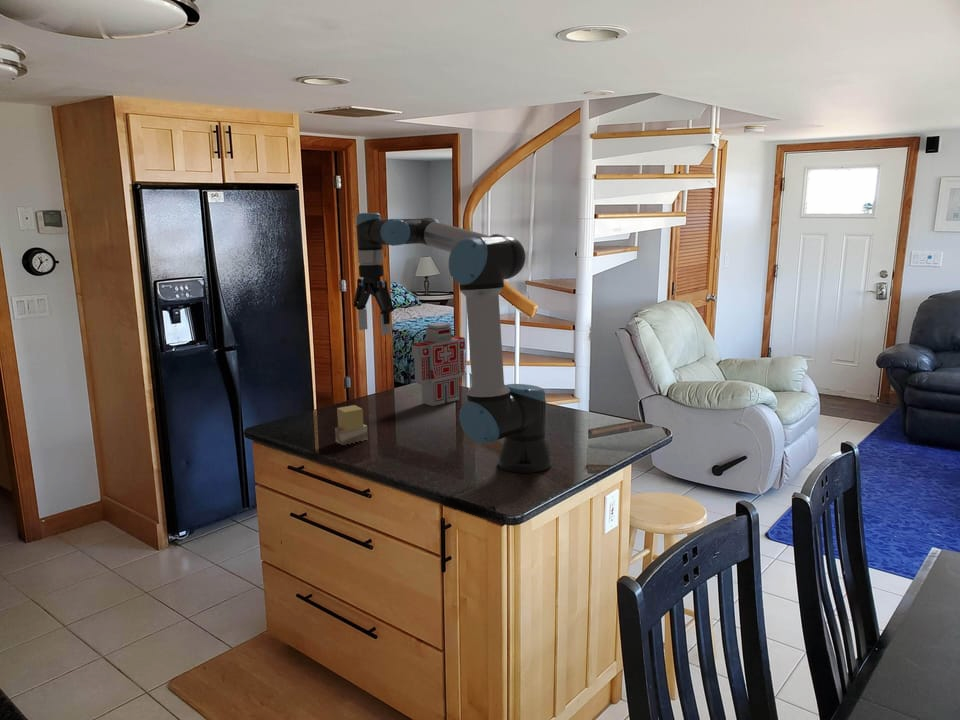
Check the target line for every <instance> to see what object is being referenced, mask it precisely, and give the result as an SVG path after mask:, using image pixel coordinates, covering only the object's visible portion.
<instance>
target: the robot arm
mask: <svg viewBox="0 0 960 720" xmlns="http://www.w3.org/2000/svg"><path fill="white" fill-rule="evenodd" d="M355 228H356V241H357V242H356V243H357V261H358V264H359V265H358V275H359V278H357V280H356V281H357V282H356V290H355V295H354V300H353V307H355V308H356V310H357V318H358V320H357V321H358V330H359V331H365V330H368V314H367V312H368V311H367V303H368V301H369V299H370V296H371V295H372V297H374V298H375V300H376V302H377V305H378V307H379V309H380V313H379V314H380V315H379V316H380V335H381V336H385V335H386V336H387V335H391V325H390V324H391V321H390V320H391V319H390V315H391V313H393V312H394V311H395V309H394V306H393V302H392V298H391V295H390V292H389V289H388V282H387V280H382V279H381V278H382V277H383V276H384V273H385V272H384V265H383V264H382V263H383V262H384V260H383V259H384V258H383V257H384V256H383V255H384V253H383V245H384V246H402V245H412V244H413V245H414V244H416V245H417V244H420V245H425V246H430V247H433V248H436V249H439V250H443V251H446V252H449V253H450V254H449V256H448V257H449V258H448V271H449V274H450V276H451V277H452V280H453V281H454V283H456V284H458V285H459V292H460V293H461V294H462V295H464V297H465V301H466V315H467V330H468V332H467V333H468V343H469V344H468V345H469V357H470V358H469V360H470V373H471V374H470V375H471V387H470V388H469V389H468V390H467V391H466V396H467V397H466V398H467V402H465V403H464V404H463V405H462V406H461V408H460V410H459V415H458V416H459V423H460V426H461V429H462V431H463V432H464V434H466V436H467V438H469V439H470V440H471V441H472V442H475V443H477V444H481V445H482V444H488V443H494V442H496V441H498V440H501V439H503V441H502V446H501V450H500V452H499V455H498V466H499V468H501V469H503V470H505V471H508V472H512V473H520V474H533V473H534V474H535V473H539V472H544V471H545V470H548V469H550V468H551V466H552V463H553V462H552V458H553V457H552V454H551V453H550V448H549V445H548V442H547V440H546V439H547V438H546V419H547V418H546V414H547V413H546V412H547V411H546V409H547V408H546V406H547V405H546V403H547V400H546V391H545V389H544V388H542V387H541V386H536V385H533V384H526V383H525V384H524V383H508V384H505V378H504V377H505V376H504V362H503V360H504V359H503V345H502V330H501V328H502V327H501V314H500V313H501V310H500V293H501V292H502V291H503V290H504V289H505V282H504V281H505V280H510V279H512V278H514V277H515V276H517V275H518V274H519V273H520V272H521V271H522V269H523V268H524V265H525V263H526V251H525V249H524V246H523V245H522V243H521V242H520V241H519V240H518V239H516V238H515V237H513V236H509V235H503V234H498V233H494V234H493V233H492V234H491V235H487V234H484V233H480V232H478V231H477V232H476V231H472V230H468V229H465V228H461V227H457V226H454V225H450V224H446V223H442V222H440V221H439V220H438V219H437V218H430V217H424V218H389V219H388V218H387V219H385V218H384V219H382V217H381V213H378V212H359V213H358V214H357V215H356V225H355Z"/></svg>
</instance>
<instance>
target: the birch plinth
mask: <svg viewBox="0 0 960 720" xmlns="http://www.w3.org/2000/svg"><path fill="white" fill-rule="evenodd" d="M363 425H364V427H362V428H357V429H353V430H348V431H346V430H344V429H342V428H340V427H338V426H337V427H334V432H335V433H334V434H335V435H334V436H335V443H336V442H337V443H336V444H338V443H339V444H341V445H345V446H347V445H346V444H349V445H352V444H351V443H353V444H356V443H355V442H358V443H360V442H359V441H362V442H365V441H364V440H367V441H368V440H369V437H368V436H369V433H368V425H367V424H365V423H363ZM339 444H338V445H339ZM341 445H340V446H341Z"/></svg>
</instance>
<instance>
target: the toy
mask: <svg viewBox="0 0 960 720" xmlns="http://www.w3.org/2000/svg"><path fill="white" fill-rule="evenodd" d="M452 333H453V332H452V325H451V323H445V322H435V323H430V324H426V325H425V335H426V337H425V338H426V340H424V341H420V342H417V343H412V344H411V356H412V357H413V361H414V362H413V363H414V366H413V368H414V383H416V384H418V385H420V386H421V403H423V404H424V405H427V406H430V407H435V406H439V405H443V404H447V403H452V402H457V401H458V400H460V382H459V381H460V379H459V378H460V377H461V378H462V377H464V375H465V350H466V349H467V348H466V337H463V336H459V335H458V336H452V335H453V334H452Z"/></svg>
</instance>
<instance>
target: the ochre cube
mask: <svg viewBox="0 0 960 720" xmlns="http://www.w3.org/2000/svg"><path fill="white" fill-rule="evenodd" d="M336 410H337V411H336V413H337V427H340V428H342V429H344V430H346V431H348V430H353V429H357V428H362V427H364V425H363V424H364V409H363V408H362V407H359V406H358V405H356V404H353V405H348V406H341V407H337V408H336Z"/></svg>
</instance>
